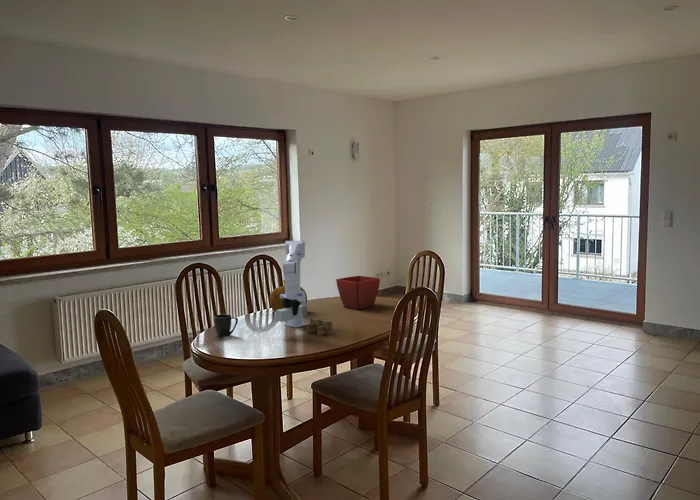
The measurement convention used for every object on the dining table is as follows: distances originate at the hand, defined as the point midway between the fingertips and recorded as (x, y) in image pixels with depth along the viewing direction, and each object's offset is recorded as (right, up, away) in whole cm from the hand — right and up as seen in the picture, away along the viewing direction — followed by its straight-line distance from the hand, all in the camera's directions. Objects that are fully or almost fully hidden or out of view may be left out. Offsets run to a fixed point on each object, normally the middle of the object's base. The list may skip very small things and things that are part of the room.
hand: (292, 314), depth 261 cm
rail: (0, -2, 0) cm, 2 cm away
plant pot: (+33, -3, +59) cm, 68 cm away
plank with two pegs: (+13, -9, +1) cm, 16 cm away
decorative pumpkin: (-7, -5, +47) cm, 48 cm away
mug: (-32, -10, +1) cm, 33 cm away
